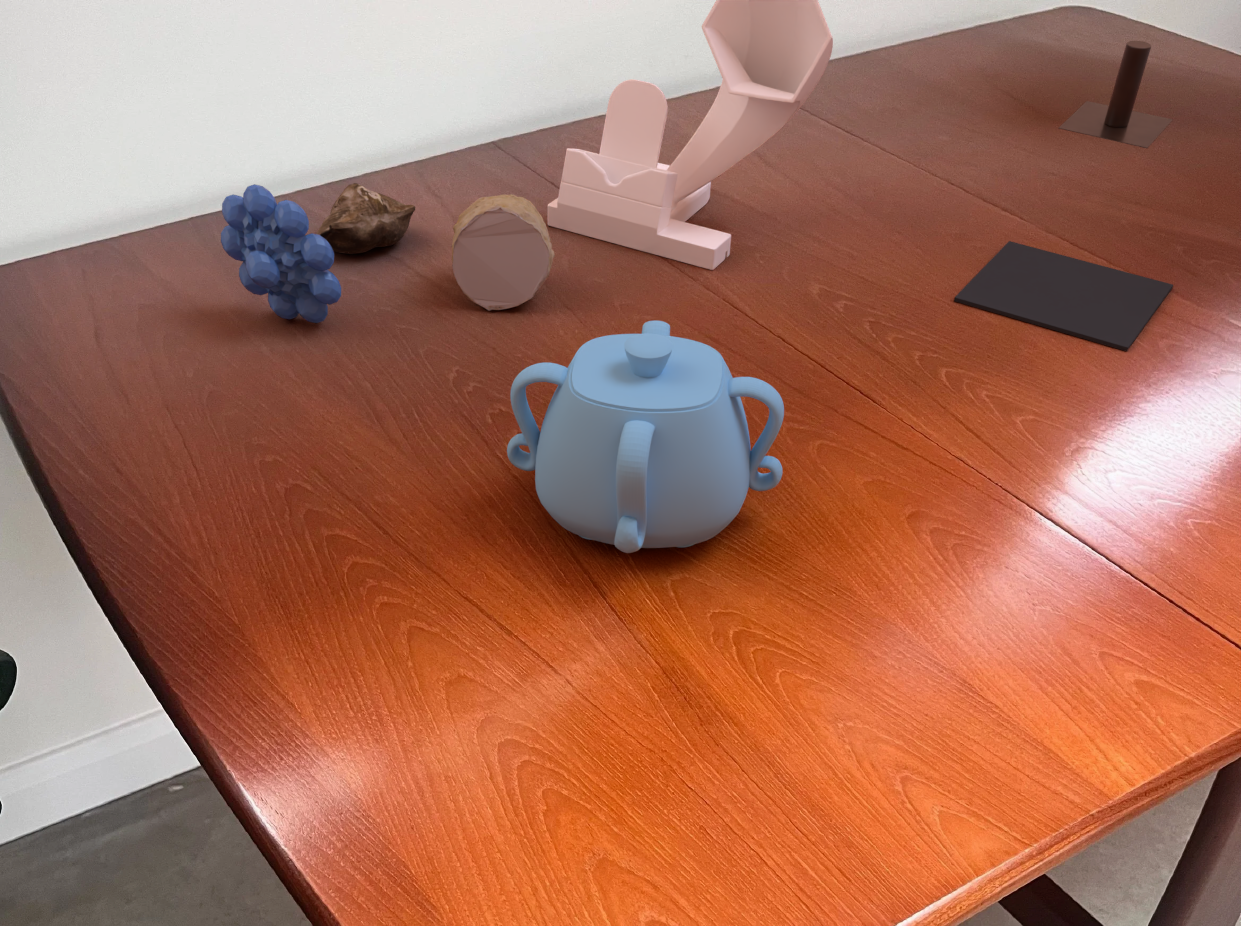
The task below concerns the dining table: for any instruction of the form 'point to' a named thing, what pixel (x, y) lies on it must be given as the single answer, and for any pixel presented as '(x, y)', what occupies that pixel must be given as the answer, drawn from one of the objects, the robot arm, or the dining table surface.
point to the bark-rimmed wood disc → (501, 251)
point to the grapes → (280, 254)
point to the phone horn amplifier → (732, 129)
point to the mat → (1066, 295)
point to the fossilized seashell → (364, 221)
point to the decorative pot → (645, 440)
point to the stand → (1121, 106)
